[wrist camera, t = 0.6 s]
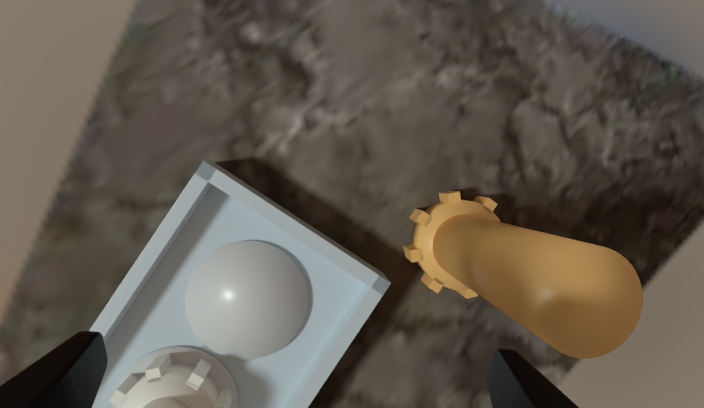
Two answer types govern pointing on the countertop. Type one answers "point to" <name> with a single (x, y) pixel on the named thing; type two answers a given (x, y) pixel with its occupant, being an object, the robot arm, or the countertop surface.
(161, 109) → the countertop surface
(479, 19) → the countertop surface
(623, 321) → the tan gear peg
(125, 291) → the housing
